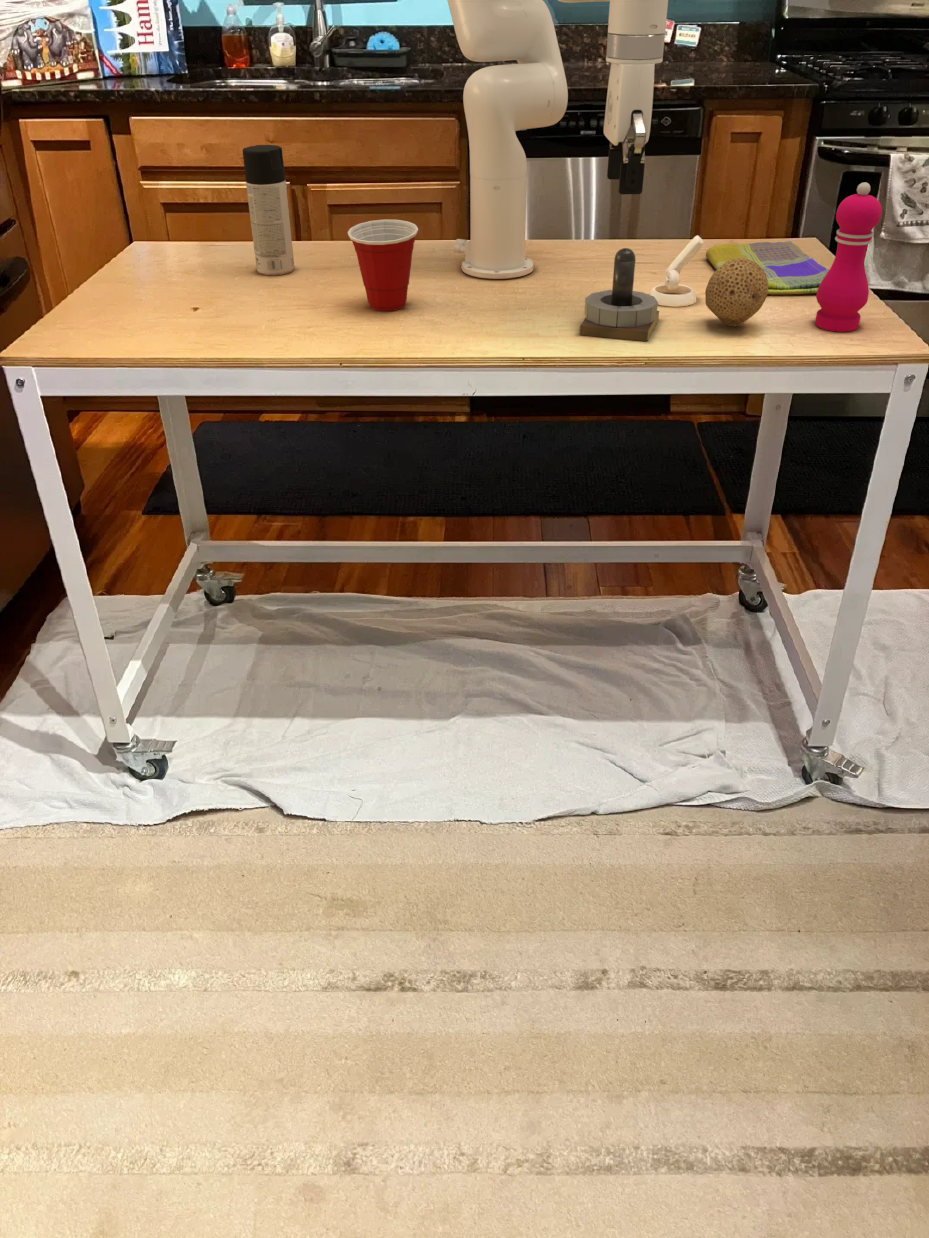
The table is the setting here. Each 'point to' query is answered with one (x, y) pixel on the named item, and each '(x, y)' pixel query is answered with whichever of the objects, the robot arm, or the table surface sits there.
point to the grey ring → (620, 310)
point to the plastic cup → (385, 260)
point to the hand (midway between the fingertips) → (623, 186)
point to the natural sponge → (736, 291)
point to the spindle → (621, 302)
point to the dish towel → (775, 265)
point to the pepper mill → (848, 263)
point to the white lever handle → (677, 279)
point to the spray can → (268, 209)
